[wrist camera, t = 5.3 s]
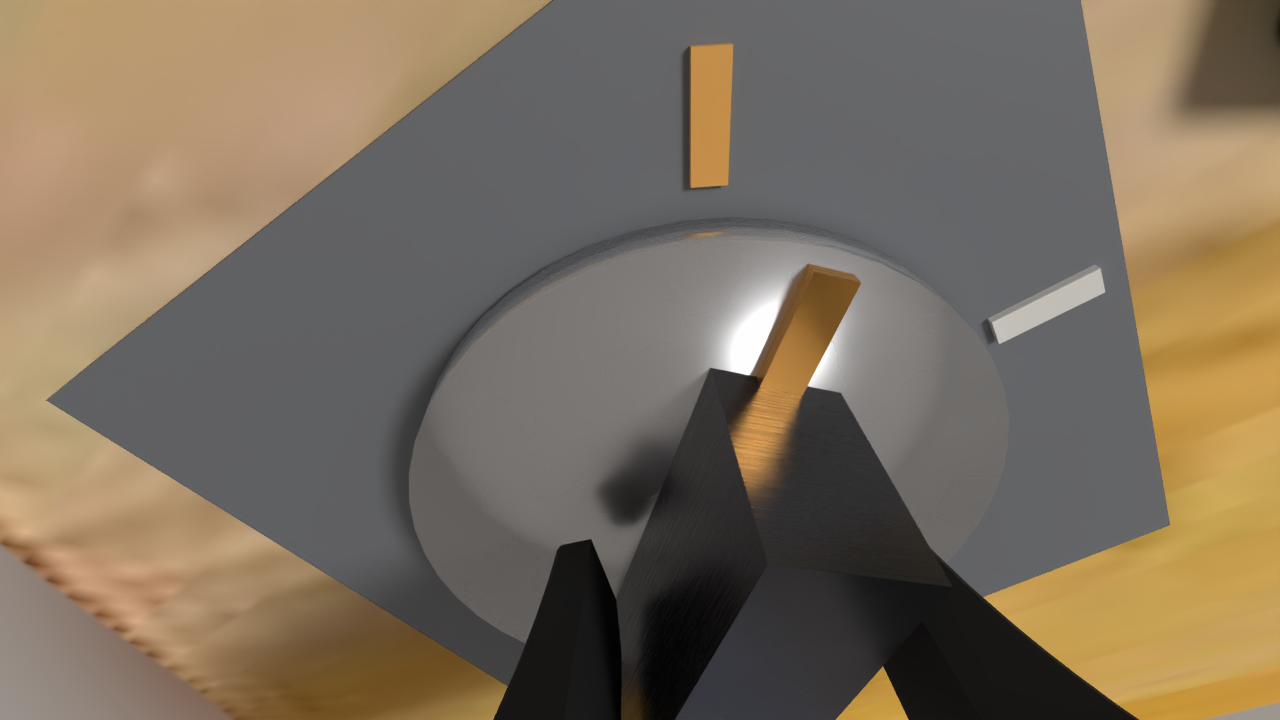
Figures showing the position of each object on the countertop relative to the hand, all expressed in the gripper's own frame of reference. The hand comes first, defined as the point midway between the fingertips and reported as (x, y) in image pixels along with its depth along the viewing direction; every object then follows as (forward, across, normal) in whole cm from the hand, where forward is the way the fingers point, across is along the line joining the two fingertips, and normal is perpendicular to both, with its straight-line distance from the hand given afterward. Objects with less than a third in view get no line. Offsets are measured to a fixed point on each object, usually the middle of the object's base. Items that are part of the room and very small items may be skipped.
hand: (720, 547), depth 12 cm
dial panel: (+3, 0, 0) cm, 3 cm away
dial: (+2, 0, 0) cm, 2 cm away
